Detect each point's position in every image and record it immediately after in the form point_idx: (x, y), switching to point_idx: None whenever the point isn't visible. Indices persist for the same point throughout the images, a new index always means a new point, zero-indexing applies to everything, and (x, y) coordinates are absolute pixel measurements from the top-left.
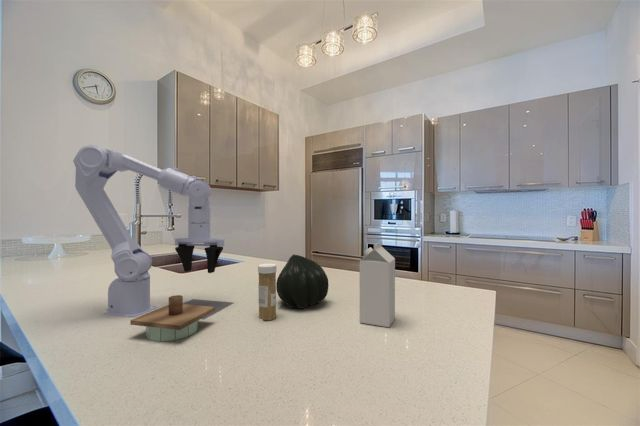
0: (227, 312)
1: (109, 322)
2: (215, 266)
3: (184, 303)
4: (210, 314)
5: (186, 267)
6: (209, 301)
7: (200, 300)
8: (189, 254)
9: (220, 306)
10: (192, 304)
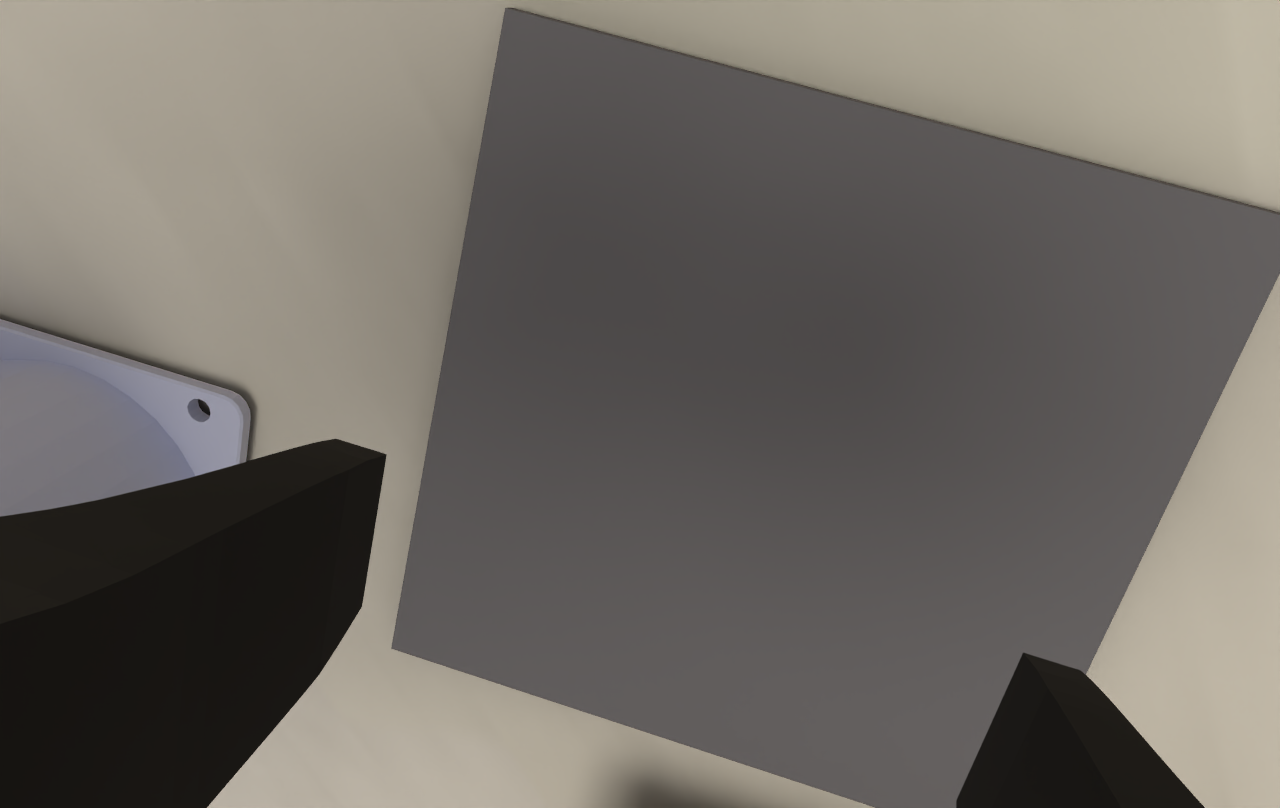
0: (1235, 590)
1: None
2: (1144, 754)
3: (490, 248)
4: None
5: (313, 652)
6: (837, 149)
7: (665, 90)
8: (85, 740)
9: (1094, 415)
10: (631, 303)
